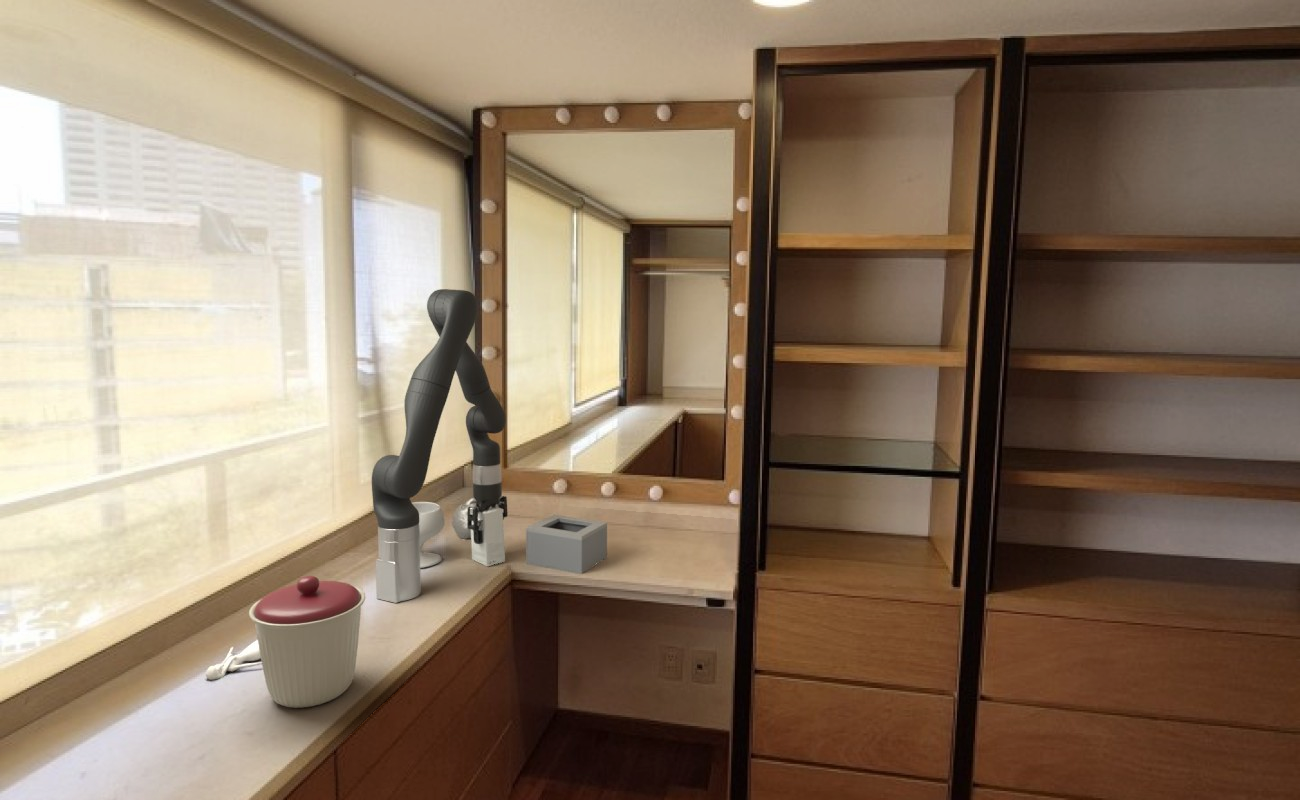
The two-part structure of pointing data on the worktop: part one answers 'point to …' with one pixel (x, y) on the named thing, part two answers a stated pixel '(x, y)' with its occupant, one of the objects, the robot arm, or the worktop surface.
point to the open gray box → (566, 543)
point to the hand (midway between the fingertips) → (488, 538)
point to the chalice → (429, 529)
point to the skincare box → (490, 538)
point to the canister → (308, 640)
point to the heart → (462, 519)
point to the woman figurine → (235, 662)
